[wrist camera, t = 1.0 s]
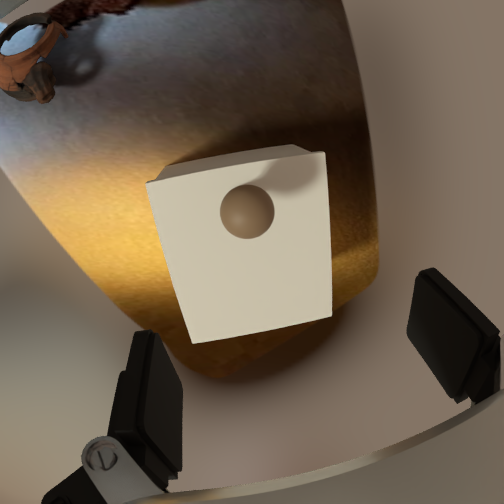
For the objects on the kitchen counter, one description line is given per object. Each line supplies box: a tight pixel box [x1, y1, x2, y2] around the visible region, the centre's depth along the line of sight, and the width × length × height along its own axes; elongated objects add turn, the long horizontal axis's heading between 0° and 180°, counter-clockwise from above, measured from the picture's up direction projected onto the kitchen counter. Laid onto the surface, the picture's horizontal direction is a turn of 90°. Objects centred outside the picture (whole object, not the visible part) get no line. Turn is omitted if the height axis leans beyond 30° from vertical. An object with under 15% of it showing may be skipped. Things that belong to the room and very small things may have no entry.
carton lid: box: [146, 151, 332, 344], centre depth 25 cm, size 16×14×7 cm
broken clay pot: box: [0, 13, 68, 104], centre depth 22 cm, size 12×10×8 cm
